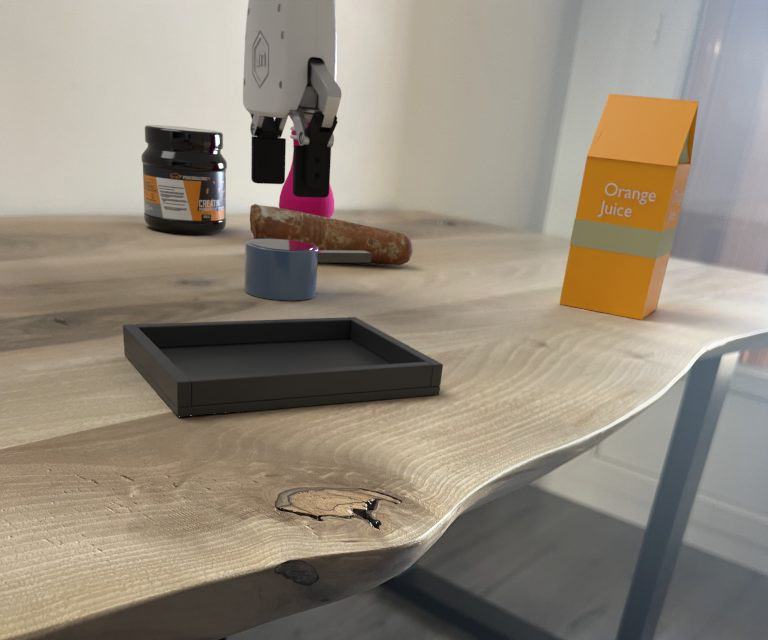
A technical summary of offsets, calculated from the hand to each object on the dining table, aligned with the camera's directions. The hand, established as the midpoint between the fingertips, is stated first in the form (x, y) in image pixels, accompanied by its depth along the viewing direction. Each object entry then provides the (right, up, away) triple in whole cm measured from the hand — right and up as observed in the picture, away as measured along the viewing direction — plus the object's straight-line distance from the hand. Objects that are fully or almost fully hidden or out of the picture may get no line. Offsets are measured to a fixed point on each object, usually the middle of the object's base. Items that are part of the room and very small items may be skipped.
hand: (288, 189), depth 74 cm
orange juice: (+33, -7, +13) cm, 36 cm away
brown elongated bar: (+2, 0, +22) cm, 23 cm away
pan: (+1, -8, +5) cm, 10 cm away
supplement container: (-17, +8, +33) cm, 38 cm away
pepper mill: (-2, +7, +34) cm, 35 cm away
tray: (+2, -20, -19) cm, 28 cm away
